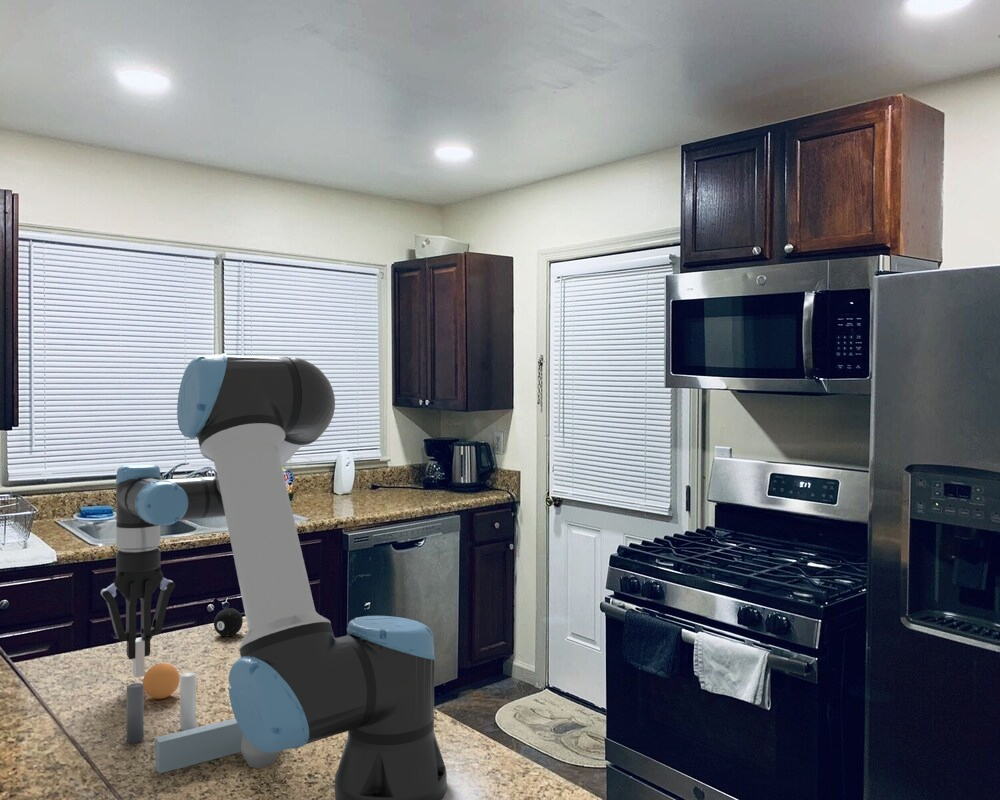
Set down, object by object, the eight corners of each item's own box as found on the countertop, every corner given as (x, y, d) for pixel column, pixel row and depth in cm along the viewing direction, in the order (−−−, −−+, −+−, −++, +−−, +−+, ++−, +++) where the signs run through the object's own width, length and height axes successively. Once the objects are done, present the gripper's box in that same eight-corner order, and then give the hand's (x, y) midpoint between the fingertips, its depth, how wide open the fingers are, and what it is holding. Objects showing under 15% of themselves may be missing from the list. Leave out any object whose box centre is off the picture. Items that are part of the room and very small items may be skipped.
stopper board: (280, 741, 125) (280, 712, 125) (159, 773, 114) (159, 742, 114) (275, 736, 127) (275, 708, 127) (155, 768, 116) (155, 737, 116)
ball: (183, 699, 142) (183, 665, 142) (147, 706, 139) (147, 672, 139) (174, 689, 147) (174, 656, 147) (139, 696, 144) (139, 662, 143)
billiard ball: (247, 632, 182) (247, 606, 182) (232, 640, 176) (232, 613, 176) (224, 630, 184) (224, 604, 184) (208, 638, 178) (208, 611, 178)
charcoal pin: (145, 740, 125) (145, 686, 125) (128, 744, 124) (128, 689, 124) (141, 735, 127) (141, 682, 127) (125, 739, 126) (125, 685, 126)
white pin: (197, 728, 130) (197, 675, 130) (182, 731, 129) (182, 678, 128) (193, 723, 132) (193, 671, 132) (178, 726, 130) (178, 674, 130)
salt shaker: (269, 772, 115) (269, 682, 115) (233, 768, 116) (233, 679, 116) (288, 754, 120) (288, 668, 120) (253, 751, 122) (253, 665, 121)
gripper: (169, 541, 156) (169, 662, 156) (95, 548, 148) (95, 676, 149) (180, 547, 150) (180, 672, 150) (104, 555, 142) (104, 688, 143)
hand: (138, 674), depth 150 cm, fingers closed
